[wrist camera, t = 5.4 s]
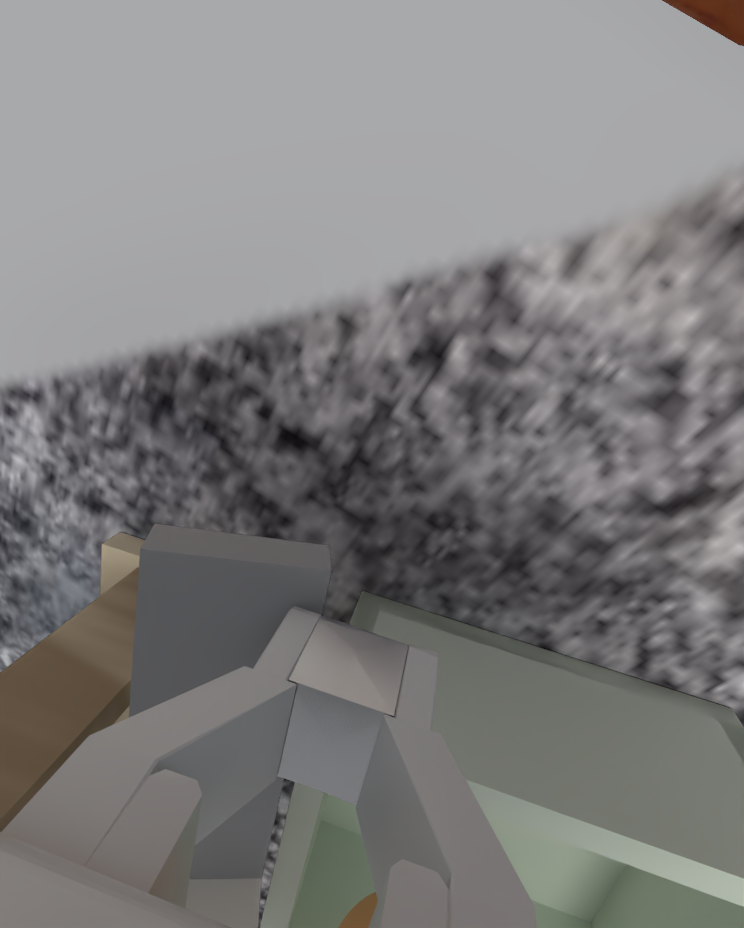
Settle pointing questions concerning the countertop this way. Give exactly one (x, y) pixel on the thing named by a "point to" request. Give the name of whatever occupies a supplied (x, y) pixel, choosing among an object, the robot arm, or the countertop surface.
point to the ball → (361, 913)
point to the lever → (219, 669)
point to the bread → (716, 15)
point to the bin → (552, 788)
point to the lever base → (69, 682)
